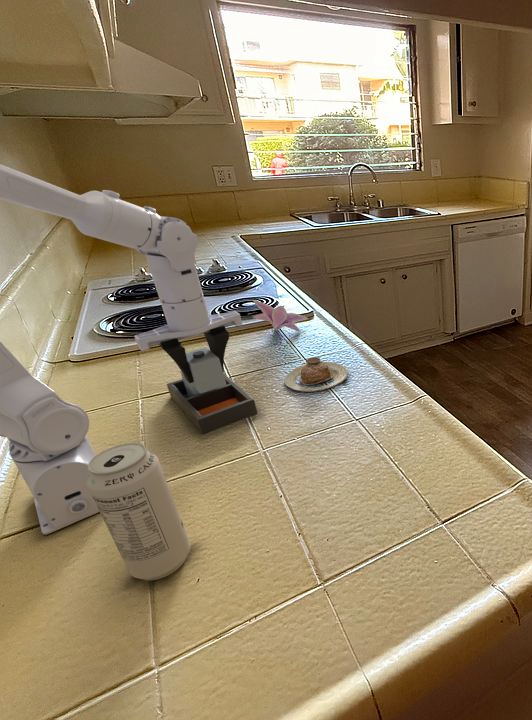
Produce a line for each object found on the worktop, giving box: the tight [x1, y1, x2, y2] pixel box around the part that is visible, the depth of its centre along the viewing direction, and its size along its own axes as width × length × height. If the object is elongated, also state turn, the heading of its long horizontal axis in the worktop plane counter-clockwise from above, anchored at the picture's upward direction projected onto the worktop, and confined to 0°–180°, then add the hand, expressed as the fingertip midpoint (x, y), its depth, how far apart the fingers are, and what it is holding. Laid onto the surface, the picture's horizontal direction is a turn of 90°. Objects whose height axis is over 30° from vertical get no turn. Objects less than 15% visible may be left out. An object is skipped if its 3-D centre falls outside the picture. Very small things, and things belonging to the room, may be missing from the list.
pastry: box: [283, 356, 349, 393], centre depth 91 cm, size 12×12×5 cm
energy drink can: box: [86, 442, 191, 582], centre depth 50 cm, size 6×6×15 cm
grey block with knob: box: [179, 370, 200, 397], centre depth 84 cm, size 6×4×6 cm, turn 46°
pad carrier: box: [166, 372, 258, 436], centre depth 82 cm, size 17×9×3 cm, turn 46°
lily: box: [252, 300, 309, 343], centre depth 109 cm, size 12×12×10 cm
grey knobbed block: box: [186, 347, 226, 394], centre depth 76 cm, size 6×4×6 cm, turn 46°
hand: (205, 375), depth 77 cm, fingers closed on grey knobbed block, 4 cm apart
